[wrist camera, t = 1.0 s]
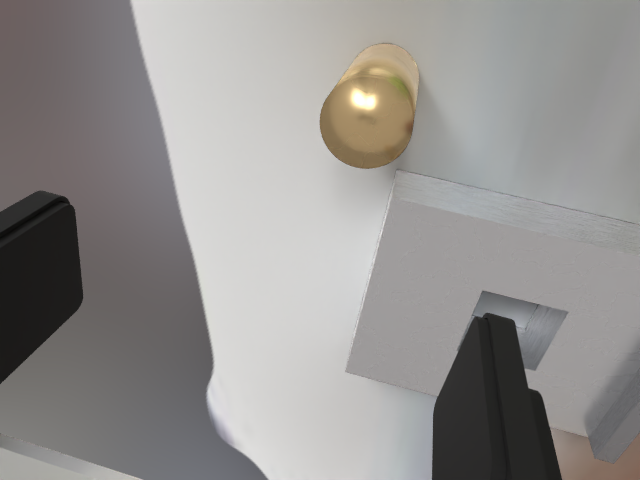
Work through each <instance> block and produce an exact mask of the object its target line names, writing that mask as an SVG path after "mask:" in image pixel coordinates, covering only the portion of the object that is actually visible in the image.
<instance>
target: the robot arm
mask: <svg viewBox="0 0 640 480" xmlns="http://www.w3.org/2000/svg"><path fill="white" fill-rule="evenodd" d="M79 258H80V257H79V247H78V237H77V226H76V216H75V209H74V207H73V206H72V205H70V202H69V201H68V199H67V198H66V197H64V196H60V195H56V194H53V193H49V192H46V191H37V192H35V193H33V194H31V195H29V196H28V197H26V198H24V199H22V200H21V201H19V202H17V203H15V204H13V205H12V206H10V207H8V208H7V209H5V210H3V211H1V212H0V384H1V383H2V381H4V380H5V379H6V378H7V377H8V376H9V375H10V374H11V373H12V372H13V371H14V370H15V369H16V368H17V367H18V366H20V365H21V364H22V363H23V361H25V360H26V359H27V358H28V357H29V356H30V355H31V354H32V353H33V352H34V351H35V350H36V349H37V348H38V347H39V346H40V345H41V344H43V342H45V341H46V340H47V339H48V338H49V337H50V336H51V335H52V334H53V333H54V332H55V331H56V330H57V329H58V328H59V327H60V326H61V325H62V324H63V323H64V322H65V321H66V320H67V319H69V318H70V317H71V316H72V315H73V314H74V313H75V312H76V311H77V310H78V308H79V307H80V305H81V303H82V300H83V289H82V278H81V268H80V259H79ZM0 480H142V479H139V478H136V477H133V476H130V475H127V474H124V473H121V472H118V471H115V470H112V469H108V468H106V467H102V466H99V465H96V464H93V463H90V462H87V461H84V460H81V459H78V458H75V457H72V456H69V455H65V454H62V453H59V452H56V451H53V450H50V449H47V448H44V447H41V446H38V445H35V444H32V443H28V442H25V441H22V440H19V439H16V438H13V437H10V436H7V435H4V434H0ZM432 480H562V478H561V473H560V469H559V465H558V461H557V456H556V452H555V448H554V444H553V439H552V435H551V431H550V426H549V422H548V418H547V414H546V409H545V405H544V401H543V398H542V396H541V394H540V393H539V392H538V391H536V390H533V389H529V388H528V383H527V378H526V374H525V369H524V364H523V359H522V354H521V349H520V345H519V340H518V335H517V330H516V325H515V322H514V320H512V319H508V318H505V317H501V316H498V315H494V314H490V313H485V315H484V316H483V317H482V318H479V317H474V318H473V320H472V322H471V324H470V326H469V329H468V331H467V333H466V335H465V338H464V340H463V342H462V344H461V346H460V349H459V351H458V353H457V355H456V358H455V360H454V362H453V364H452V367H451V369H450V371H449V373H448V375H447V378H446V380H445V382H444V384H443V387H442V389H441V391H440V393H439V395H438V398H437V400H436V403H435V407H434V413H433V460H432Z"/></svg>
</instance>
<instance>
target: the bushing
mask: <svg viewBox="0 0 640 480" xmlns="http://www.w3.org/2000/svg"><path fill="white" fill-rule="evenodd" d="M418 87H419V72H418V68H417V65H416V63H415V61H414V59H413V58H412V57H411V55H410V54H409V53H408V52H406V51H405V50H404V49H402V48H401V47H398V46H396V45H393V44H387V43H382V44H376V45H372V46H370V47H368V48H366V49H365V50H363V51H362V52H361V53H360V54H359V55H358V56H357V57H356V58H355V60H354V61H353V62H352V64H351V65H350V67H349V68H348V69H347V71H346V72H345V74H344V75H343V76H342V78H341V79H340V80H339V82H338V83H337V85H336V86H335V87H334V89H333V90H332V92H331V93H330V94H329V96H328V97H327V98H326V100H325V102H324V104H323V107H322V110H321V114H320V130H321V134H322V138H323V140H324V142H325V144H326V146H327V147H328V149H329V150H330V151H331V153H332V154H333V155H334V156H335V157H337V158H338V159H339V160H340V161H342V162H344V163H346V164H348V165H350V166H353V167H357V168H364V169H370V168H377V167H381V166H384V165H386V164H388V163H390V162H392V161H393V160H395V159H396V158H397V157H398V156H400V154H401V153H402V152H403V151H404V150H405V148H406V147H407V145H408V143H409V141H410V138H411V135H412V130H413V123H414V116H415V108H416V101H417V94H418Z"/></svg>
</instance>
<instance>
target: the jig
mask: <svg viewBox="0 0 640 480" xmlns="http://www.w3.org/2000/svg"><path fill="white" fill-rule="evenodd" d="M482 290H483V291H487V292H491V293H495V294H500V295H504V296H508V297H512V298H516V299H520V300H524V301H528V302H532V303H536V304H539V305H538V306H537V308H536V310H535V312H534V314H533V316H532V318H531V320H530V322H529V324H528V326H527V328H526V329H523V328H519V327H516V330H517V335H518V340H519V345H520V349H521V354H522V359H523V364H524V369H525V374H526V378H527V383H528V388H529V389H533V390H536V391H538V392H539V393H540V394H541V396H542V398H543V401H544V405H545V409H546V414H547V418H548V422H549V426H550V427H552V428H555V429H559V430H563V431H566V432H570V433H574V434H578V435H581V436H585V437H588V438H589V441H590V444H591V448H592V451H593V454H594V457H595V459H599V460H602V461H606V462H610V463H613V464H614V463H615V462H616V460H617V459H618V458H619V457H620V456H621V454H622V453H623V452H624V451H625V449H626V448H627V447H628V446H629V445H630V443H631V442H632V441H633V440H634V438H635V437H636V436H637V435H638V434H639V432H640V225H638V224H634V223H629V222H625V221H620V220H616V219H612V218H607V217H603V216H599V215H594V214H590V213H585V212H581V211H577V210H572V209H568V208H564V207H559V206H555V205H551V204H546V203H542V202H537V201H533V200H529V199H524V198H520V197H516V196H511V195H507V194H502V193H498V192H494V191H489V190H485V189H481V188H476V187H472V186H468V185H463V184H459V183H454V182H450V181H446V180H441V179H437V178H433V177H428V176H424V175H419V174H415V173H411V172H406V171H402V170H398V169H397V170H396V174H395V178H394V182H393V186H392V189H391V193H390V197H389V201H388V205H387V208H386V212H385V216H384V220H383V224H382V228H381V231H380V235H379V239H378V243H377V247H376V250H375V254H374V258H373V262H372V266H371V269H370V273H369V277H368V281H367V285H366V288H365V292H364V296H363V300H362V304H361V307H360V311H359V315H358V319H357V323H356V326H355V330H354V334H353V339H352V343H351V348H350V353H349V357H348V362H347V366H346V371H345V372H348V373H351V374H355V375H359V376H362V377H366V378H370V379H374V380H377V381H381V382H385V383H388V384H392V385H396V386H400V387H403V388H407V389H411V390H414V391H418V392H422V393H425V394H429V395H433V396H437V397H438V395H439V393H440V391H441V389H442V387H443V384H444V382H445V380H446V378H447V375H448V373H449V371H450V369H451V367H452V364H453V362H454V360H455V358H456V355H457V353H458V351H459V349H460V346H461V344H462V342H463V340H464V338H465V335H466V333H467V331H468V329H469V326H470V324H471V322H472V320H473V318H474V317H476V316H472V314H473V311H474V309H475V307H476V304H477V302H478V300H479V297H480V295H481V293H482ZM479 318H480V317H479Z"/></svg>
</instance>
